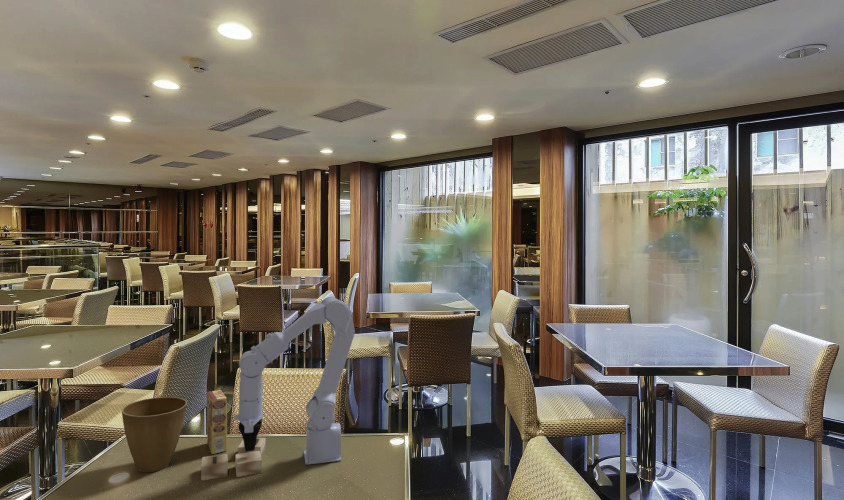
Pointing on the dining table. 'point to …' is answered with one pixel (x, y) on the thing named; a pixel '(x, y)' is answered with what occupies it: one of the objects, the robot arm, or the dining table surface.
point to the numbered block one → (214, 466)
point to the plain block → (248, 463)
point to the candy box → (217, 421)
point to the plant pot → (153, 430)
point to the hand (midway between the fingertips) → (250, 449)
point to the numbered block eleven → (258, 447)
